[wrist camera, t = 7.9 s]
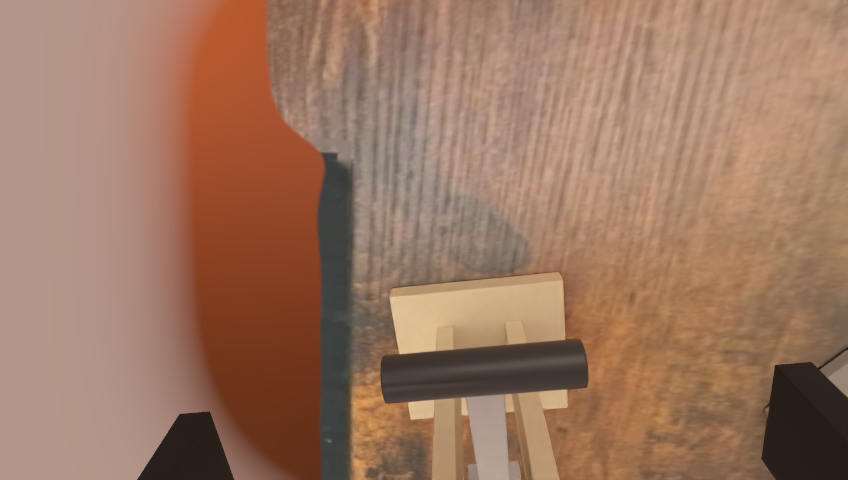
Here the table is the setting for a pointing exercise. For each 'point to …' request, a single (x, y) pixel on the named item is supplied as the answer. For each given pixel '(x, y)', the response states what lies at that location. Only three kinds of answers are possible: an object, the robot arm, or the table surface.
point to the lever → (486, 388)
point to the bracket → (480, 327)
